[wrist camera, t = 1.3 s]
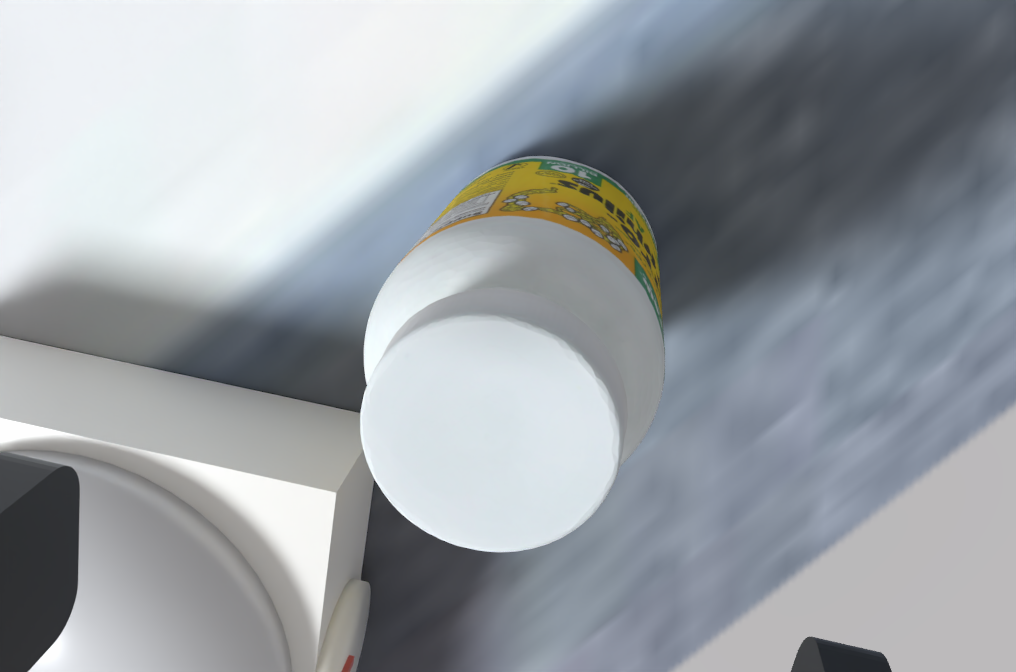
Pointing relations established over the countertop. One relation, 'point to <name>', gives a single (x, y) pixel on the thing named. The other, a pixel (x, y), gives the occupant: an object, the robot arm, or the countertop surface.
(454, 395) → the supplement bottle
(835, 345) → the countertop surface
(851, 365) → the countertop surface
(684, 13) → the countertop surface
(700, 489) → the countertop surface
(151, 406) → the kitchen scale
